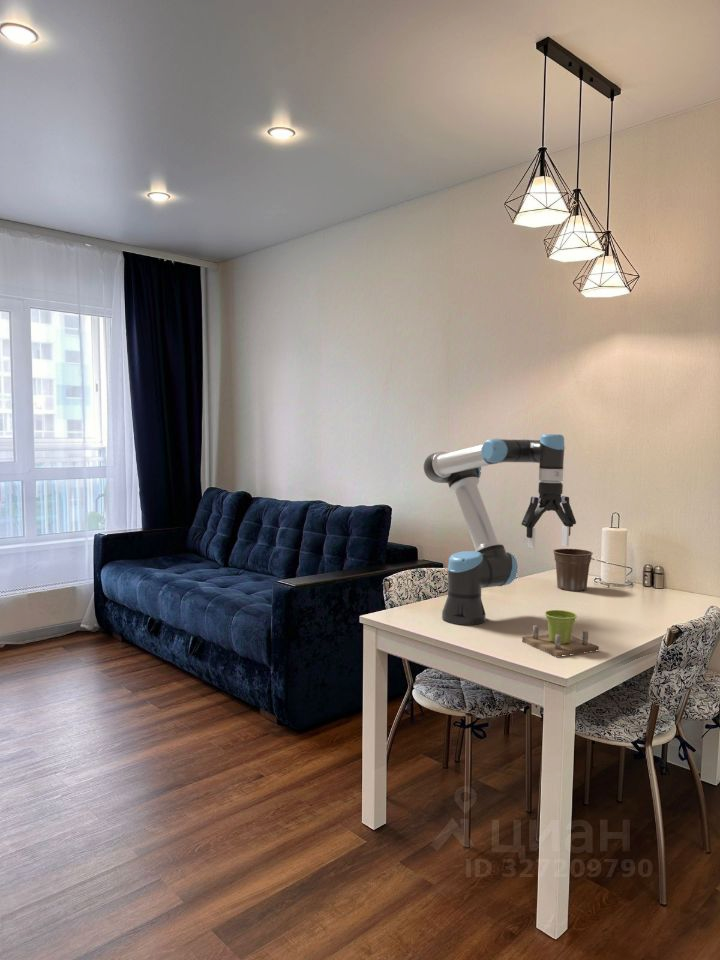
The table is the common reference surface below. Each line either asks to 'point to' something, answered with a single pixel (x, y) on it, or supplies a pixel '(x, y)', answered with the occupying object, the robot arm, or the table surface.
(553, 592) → the table surface
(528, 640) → the stand
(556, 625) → the plant pot
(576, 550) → the plant pot
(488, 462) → the robot arm
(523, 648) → the table surface
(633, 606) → the table surface
